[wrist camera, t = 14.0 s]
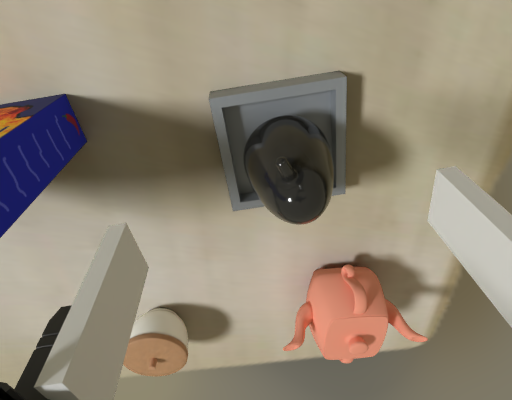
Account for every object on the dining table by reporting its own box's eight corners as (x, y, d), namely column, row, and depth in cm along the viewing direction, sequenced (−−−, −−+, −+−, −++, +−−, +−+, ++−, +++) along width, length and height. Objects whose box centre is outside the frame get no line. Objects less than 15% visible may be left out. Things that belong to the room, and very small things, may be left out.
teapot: (395, 281, 60) (432, 345, 49) (322, 325, 65) (340, 391, 55) (350, 236, 53) (380, 299, 43) (272, 289, 59) (282, 356, 48)
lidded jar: (191, 299, 58) (185, 348, 51) (191, 336, 64) (186, 385, 56) (128, 298, 57) (112, 348, 49) (134, 337, 63) (121, 387, 55)
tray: (209, 91, 39) (208, 98, 37) (338, 70, 39) (346, 76, 36) (232, 199, 48) (233, 211, 45) (339, 182, 47) (345, 193, 45)
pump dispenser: (303, 88, 39) (340, 138, 26) (331, 159, 44) (372, 229, 32) (227, 126, 41) (226, 190, 28) (262, 190, 46) (275, 267, 33)
